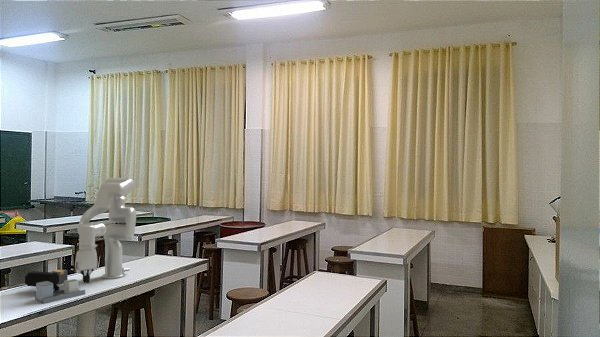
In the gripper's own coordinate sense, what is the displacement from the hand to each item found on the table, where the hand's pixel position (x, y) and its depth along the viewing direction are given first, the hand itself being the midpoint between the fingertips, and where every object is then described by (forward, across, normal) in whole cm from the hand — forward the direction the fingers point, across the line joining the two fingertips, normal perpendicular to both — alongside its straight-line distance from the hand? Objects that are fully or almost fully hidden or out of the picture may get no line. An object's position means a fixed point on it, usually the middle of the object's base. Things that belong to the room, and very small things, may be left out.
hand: (86, 282), depth 223 cm
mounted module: (+5, +20, 0) cm, 21 cm away
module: (+4, +7, 0) cm, 8 cm away
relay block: (+4, +2, -28) cm, 29 cm away
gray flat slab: (+5, +12, 0) cm, 13 cm away
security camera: (+5, +14, -16) cm, 22 cm away
